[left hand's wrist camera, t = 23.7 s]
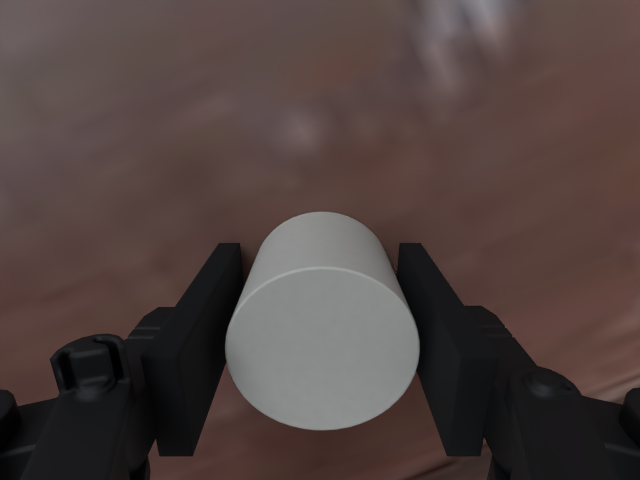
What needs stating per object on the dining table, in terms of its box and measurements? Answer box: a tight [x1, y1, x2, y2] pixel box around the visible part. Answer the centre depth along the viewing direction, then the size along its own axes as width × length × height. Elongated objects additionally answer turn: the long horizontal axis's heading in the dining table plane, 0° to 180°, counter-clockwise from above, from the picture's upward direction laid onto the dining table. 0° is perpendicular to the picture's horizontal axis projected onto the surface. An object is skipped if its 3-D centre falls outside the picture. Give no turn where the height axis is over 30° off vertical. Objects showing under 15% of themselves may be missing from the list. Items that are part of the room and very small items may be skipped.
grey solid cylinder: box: [225, 212, 420, 430], centre depth 12 cm, size 5×5×5 cm
